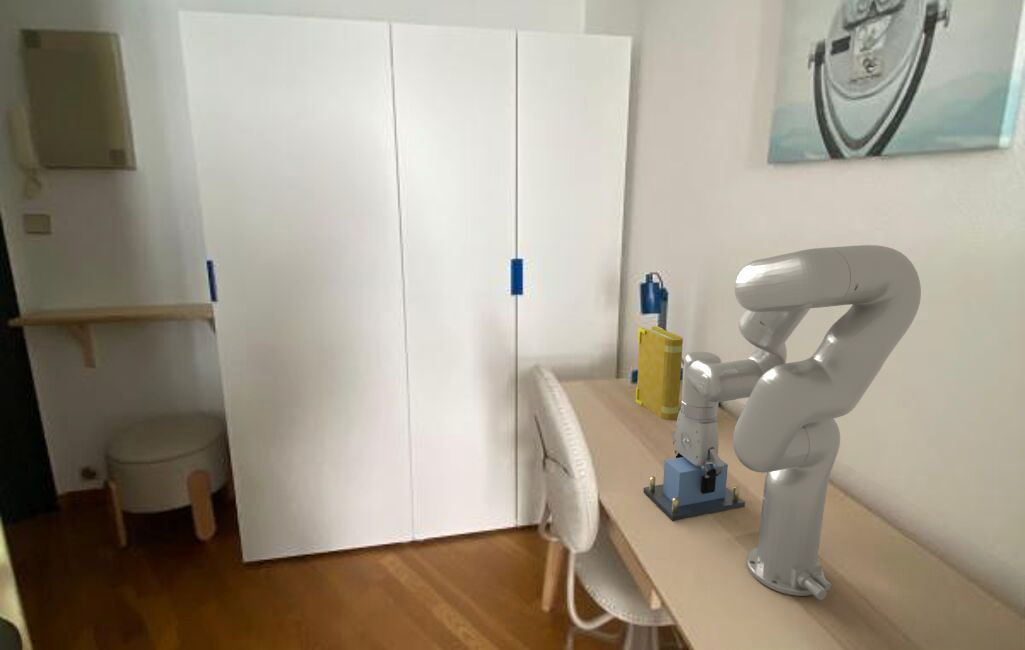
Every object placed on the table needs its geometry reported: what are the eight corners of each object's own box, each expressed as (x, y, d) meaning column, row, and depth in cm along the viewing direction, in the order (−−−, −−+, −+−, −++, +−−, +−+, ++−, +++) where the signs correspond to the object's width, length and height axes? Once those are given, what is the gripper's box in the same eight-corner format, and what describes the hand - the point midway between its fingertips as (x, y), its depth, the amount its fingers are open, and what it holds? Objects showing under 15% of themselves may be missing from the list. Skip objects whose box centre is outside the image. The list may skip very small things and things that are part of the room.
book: (635, 401, 181) (638, 328, 175) (653, 398, 183) (656, 326, 177) (663, 420, 166) (668, 340, 160) (682, 417, 167) (688, 338, 162)
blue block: (677, 506, 118) (679, 472, 116) (662, 492, 124) (664, 460, 122) (725, 497, 121) (727, 464, 120) (708, 484, 127) (710, 452, 125)
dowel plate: (744, 506, 120) (746, 489, 119) (672, 521, 115) (673, 503, 114) (710, 480, 131) (712, 464, 130) (643, 492, 126) (644, 475, 125)
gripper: (662, 397, 125) (658, 465, 129) (708, 427, 109) (703, 504, 113) (690, 393, 127) (686, 461, 131) (740, 422, 111) (734, 498, 115)
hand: (694, 481), depth 122 cm, fingers open, 9 cm apart
